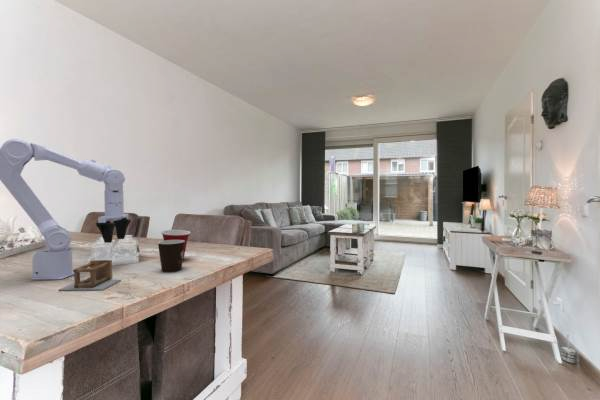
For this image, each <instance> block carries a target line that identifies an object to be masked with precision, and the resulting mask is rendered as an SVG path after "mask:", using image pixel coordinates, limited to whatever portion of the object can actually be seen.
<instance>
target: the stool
mask: <svg viewBox="0 0 600 400" xmlns="http://www.w3.org/2000/svg"><path fill="white" fill-rule="evenodd" d="M73 272H74V275H73V276H74V279H73V280H74V283H75V285H74V287H75V288H77V287H91V288H93V287H95V286H96V285H98V284H100V283H102V282H104V281H106V280H113V262H112V259H94V260H93V259H91V260H89V262H88V263H87V264H84V265H81V266H79V267H76V268H74V269H73ZM81 273H89V276H90V277H88V278H86V279H82V280H83V281H81V282H80V280H81ZM96 280H98V281H97V282H96ZM89 281H91V283H87V282H89Z"/></svg>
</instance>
